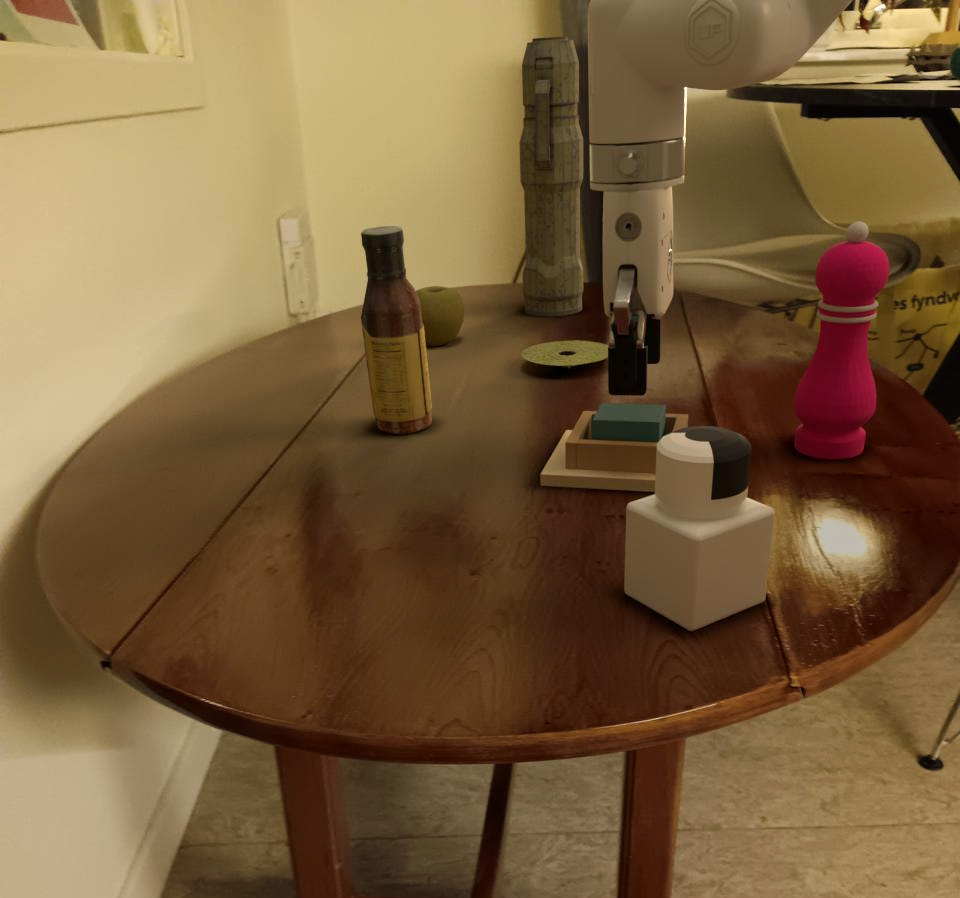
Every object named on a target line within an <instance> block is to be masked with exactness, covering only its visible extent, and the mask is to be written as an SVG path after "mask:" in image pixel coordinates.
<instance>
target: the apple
mask: <svg viewBox="0 0 960 898" xmlns="http://www.w3.org/2000/svg"><path fill="white" fill-rule="evenodd" d="M415 291H416V293H417V295H418V297H419V300H420V304H421V314H422V323H423V324H424V332H425V342H426V347H441V346H445V345H448V344H449V343H451V342H452V341H454V340H455V339H456V337H457V336H458V334H459V332H460V331H461V328H462V327H463V322H464V317H465V306H464V305H465V304H464V302H463V298H462V296H461V294H459V292H458V291H457V290H455V289H454V288H452V287H448V286H438V285H432V286H425V287H422V288H418V289H417V290H415Z"/></svg>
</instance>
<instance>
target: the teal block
mask: <svg viewBox="0 0 960 898" xmlns="http://www.w3.org/2000/svg"><path fill="white" fill-rule="evenodd" d="M596 411H597V412H596V414H595V416H594V418H593V420H592V440H606V441H630V442H654V443H658V442H659V441H660V440H661V439H662V437H663V436H665V417H666V414H667V405H666V404H653V403H651V404H650V403H625V402H623V403H622V402H621V403H620V402H601V403H600V405H599V407H598V409H597V410H596Z"/></svg>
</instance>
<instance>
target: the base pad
mask: <svg viewBox="0 0 960 898" xmlns="http://www.w3.org/2000/svg"><path fill="white" fill-rule="evenodd" d="M596 412H597V410H583V411H582V413H581V415H580V416H579V418H578V420H577V421H576V424H575V425H574V427H573V429H566V430H565V431H564V433H563V434H562V436H561V438H560V440H559V442H558V443H557V445H556V447H555V448H554V450H553V452H552V454H550V455H551V456H550V457H549V459H548V460H547V462H546V463H545V465H544V468H543V469H542V471H541V472H540V478H539V479H540V486H541V487H558V488H574V489H575V488H578V489H594V490H612V491H613V490H614V491H628V492H629V491H630V492H631V491H633V492H650V493H655V476H656V452H657V443H654V442H630V441H606V440H592V420H593V418H594V416H595V414H596ZM686 427H689V414H688V413H666V417H665V435H666V434H668V433H670V432H673V431H676V430H678V429H682V428H686Z"/></svg>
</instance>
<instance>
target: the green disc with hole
mask: <svg viewBox="0 0 960 898" xmlns="http://www.w3.org/2000/svg"><path fill="white" fill-rule="evenodd" d="M608 347H609V344H605V343H602V342H595V341H589V340H580V339H577V340H576V339H575V340H573V339H572V340H558V341H557V340H555V341H551V342H550V341H549V342H543V343H537V344H534V345H532V346H528V347H526V348H525V349H523V350H522V351H521V354H520V356H521V358H522V359H524V360H526V361H528V362H532V363H533V364H537V365H538V364H540V365H546V366H557V367H558V366H561V368H562V369H564V368H567V370H569V369H571V368H572V367H573V368H575V367H576V366H578V365H581V366H582V365H583V364H584V365H585V364H591V363H595V362H600V361H604V360H605V359H608Z"/></svg>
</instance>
